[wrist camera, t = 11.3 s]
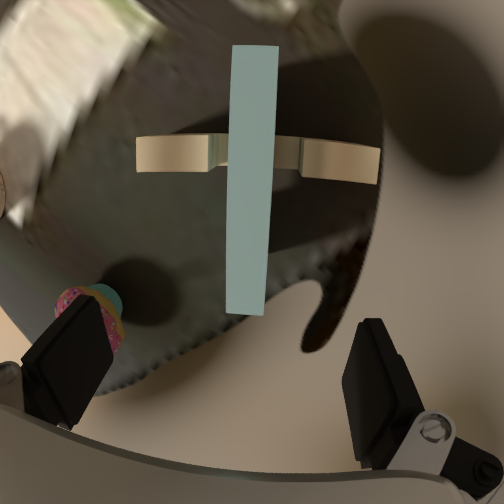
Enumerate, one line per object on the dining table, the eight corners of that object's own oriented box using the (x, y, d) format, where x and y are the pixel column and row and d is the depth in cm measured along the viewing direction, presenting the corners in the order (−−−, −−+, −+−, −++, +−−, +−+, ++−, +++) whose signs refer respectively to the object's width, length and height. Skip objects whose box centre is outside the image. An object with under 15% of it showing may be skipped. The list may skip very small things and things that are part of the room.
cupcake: (78, 258, 30) (12, 314, 19) (143, 285, 31) (90, 358, 20) (76, 315, 34) (26, 375, 23) (134, 341, 34) (93, 413, 23)
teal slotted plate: (248, 75, 22) (232, 45, 13) (277, 77, 22) (278, 46, 13) (241, 252, 29) (226, 312, 19) (267, 254, 29) (263, 315, 19)
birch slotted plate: (169, 160, 26) (136, 171, 19) (169, 134, 25) (136, 137, 18) (351, 169, 25) (376, 184, 18) (353, 143, 24) (380, 148, 18)
